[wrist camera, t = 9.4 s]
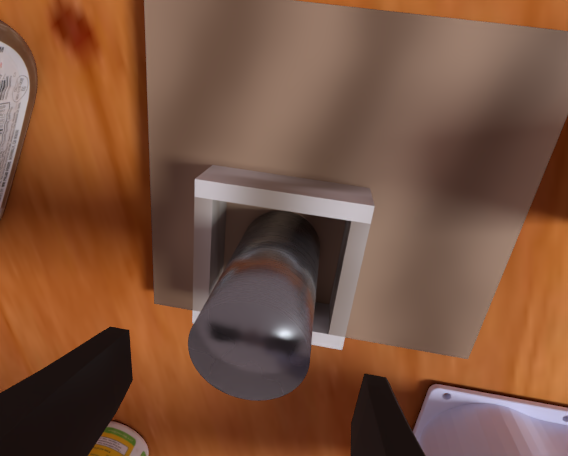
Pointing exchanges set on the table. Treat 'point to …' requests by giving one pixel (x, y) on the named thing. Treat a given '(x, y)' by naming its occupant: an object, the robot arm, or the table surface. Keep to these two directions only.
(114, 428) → the supplement bottle
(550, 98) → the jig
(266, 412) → the table surface
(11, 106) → the tin
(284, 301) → the grey metal cylinder
